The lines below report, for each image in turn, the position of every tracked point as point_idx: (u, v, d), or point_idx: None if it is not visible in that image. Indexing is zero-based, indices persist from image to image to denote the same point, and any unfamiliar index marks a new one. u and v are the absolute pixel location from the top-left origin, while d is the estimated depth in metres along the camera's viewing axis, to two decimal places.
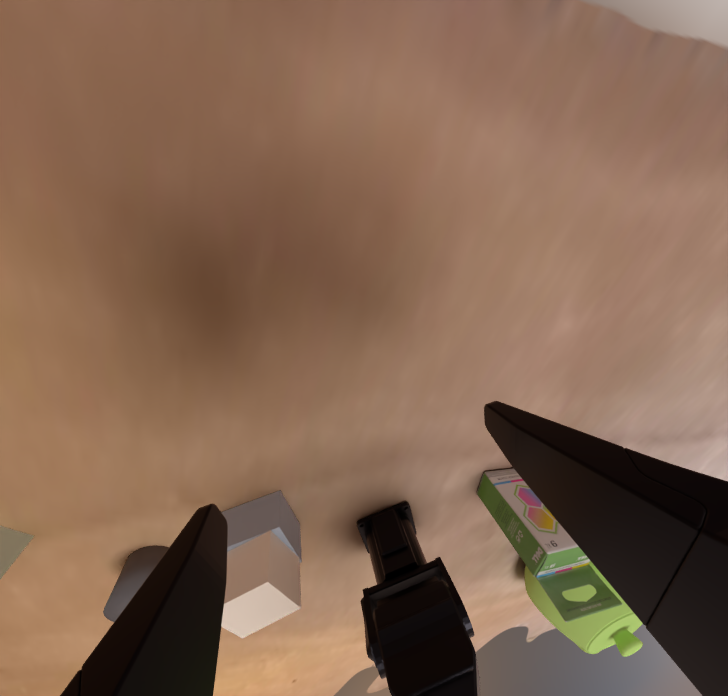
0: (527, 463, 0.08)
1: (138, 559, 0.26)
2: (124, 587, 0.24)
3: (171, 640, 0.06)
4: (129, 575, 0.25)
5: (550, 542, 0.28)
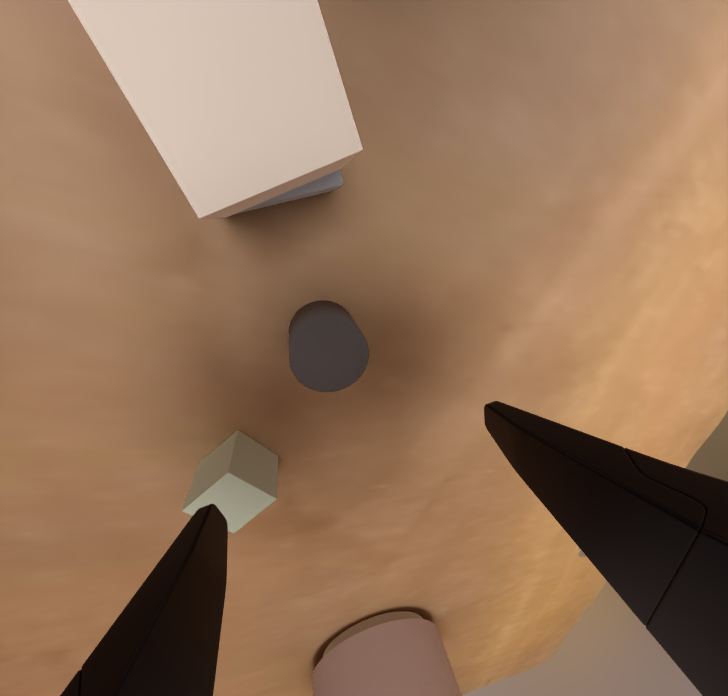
0: (527, 463, 0.08)
1: None
2: None
3: (171, 640, 0.06)
4: None
5: None
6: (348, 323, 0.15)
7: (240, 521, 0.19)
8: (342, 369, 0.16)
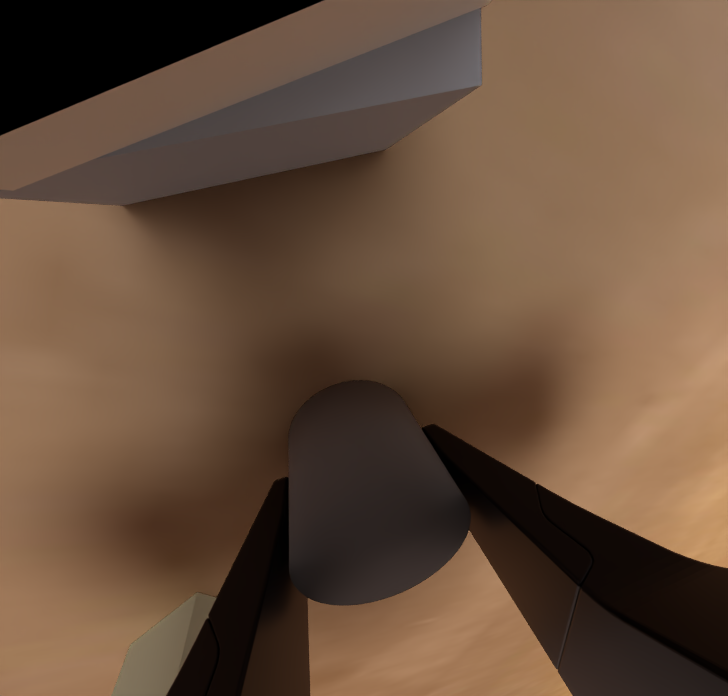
0: None
1: None
2: None
3: (280, 596, 0.06)
4: None
5: None
6: (434, 477, 0.06)
7: None
8: (409, 561, 0.07)
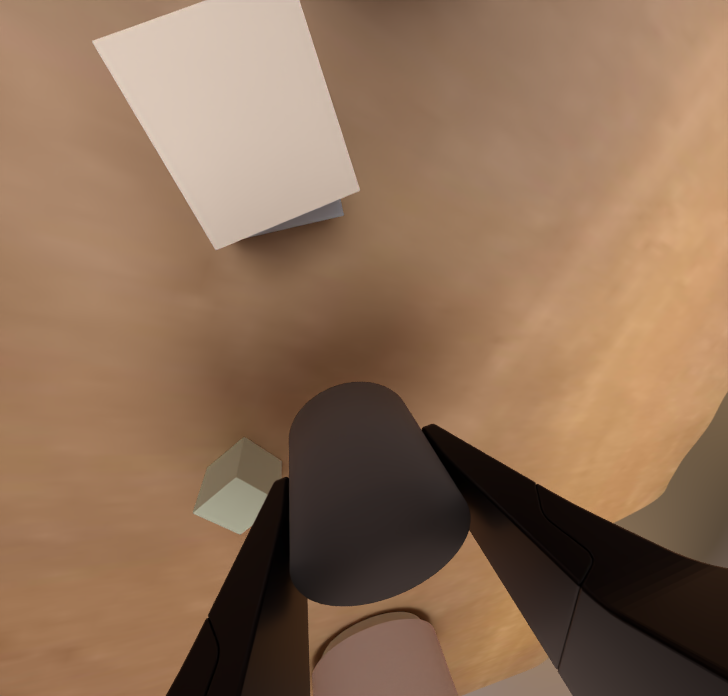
0: None
1: None
2: None
3: (280, 596, 0.06)
4: None
5: None
6: (434, 478, 0.06)
7: (246, 523, 0.20)
8: (409, 562, 0.07)
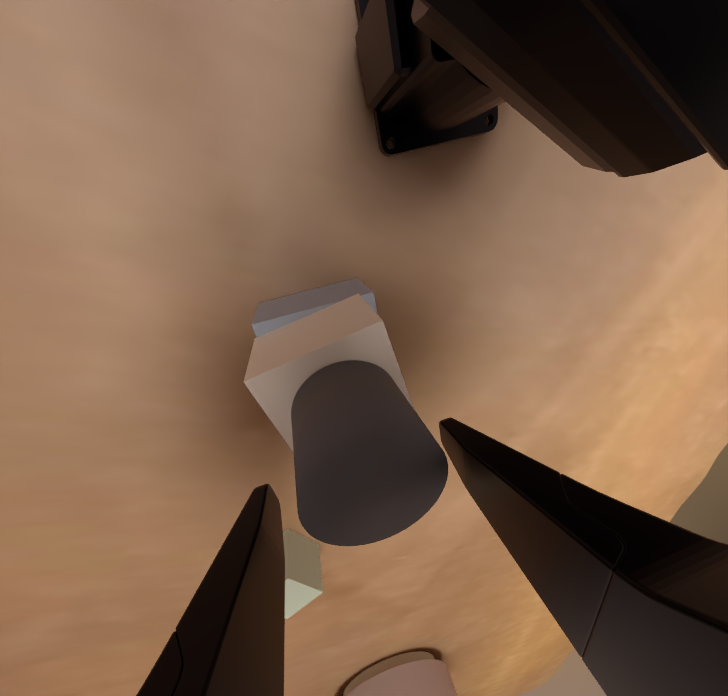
0: (475, 484, 0.08)
1: None
2: None
3: (252, 607, 0.06)
4: None
5: None
6: (416, 431, 0.08)
7: (293, 610, 0.23)
8: (397, 506, 0.08)
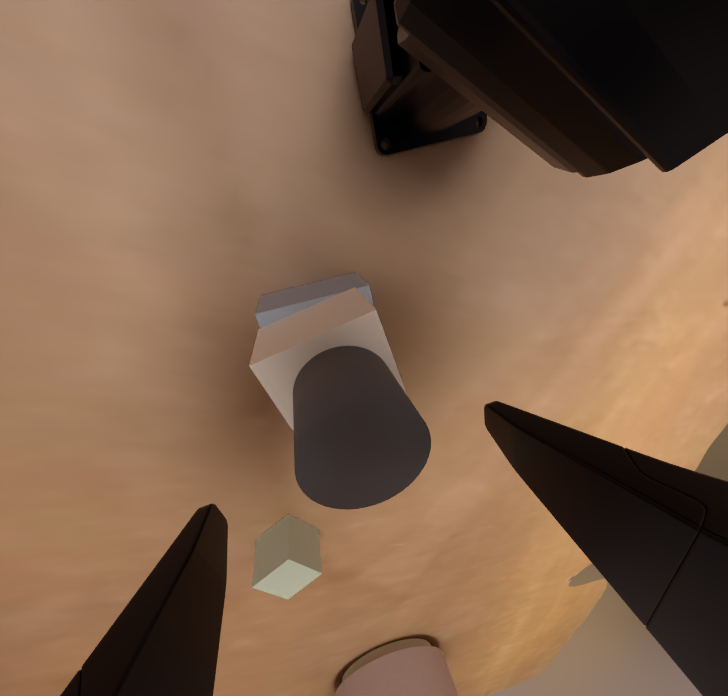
0: (527, 463, 0.08)
1: None
2: None
3: (171, 640, 0.06)
4: None
5: None
6: (400, 403, 0.09)
7: (293, 591, 0.24)
8: (385, 473, 0.09)
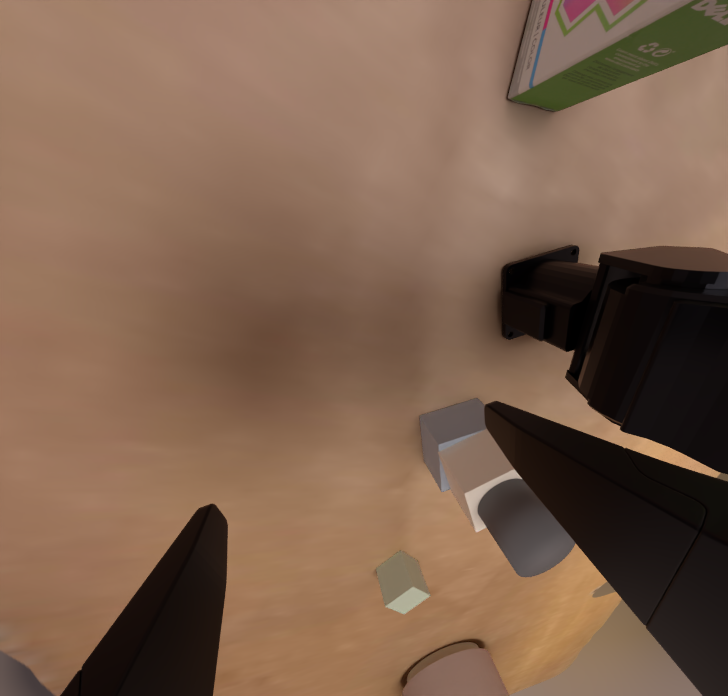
0: (527, 463, 0.08)
1: (487, 523, 0.20)
2: (508, 557, 0.18)
3: (171, 640, 0.06)
4: (499, 542, 0.19)
5: None
6: None
7: (409, 608, 0.33)
8: (551, 559, 0.19)
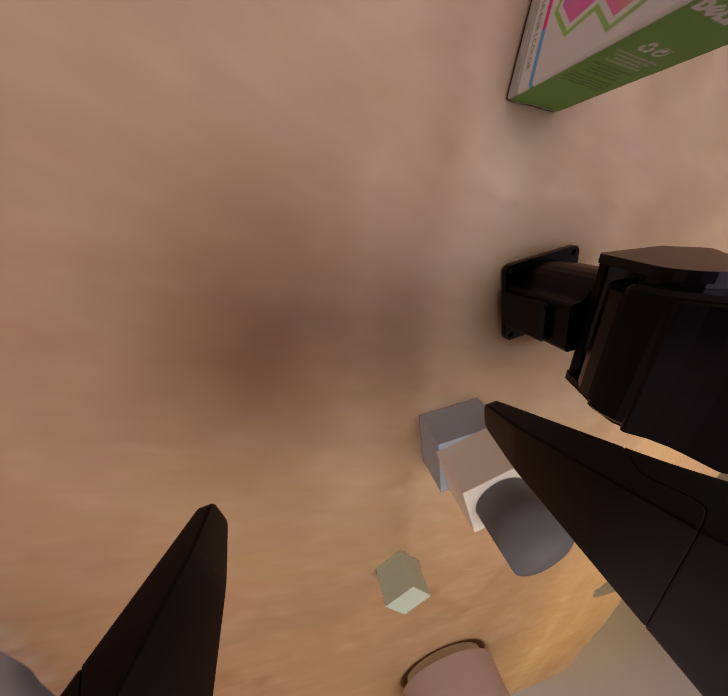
0: (527, 463, 0.08)
1: (485, 522, 0.20)
2: (505, 556, 0.18)
3: (171, 640, 0.06)
4: (496, 541, 0.19)
5: None
6: None
7: (409, 608, 0.34)
8: (549, 559, 0.18)
